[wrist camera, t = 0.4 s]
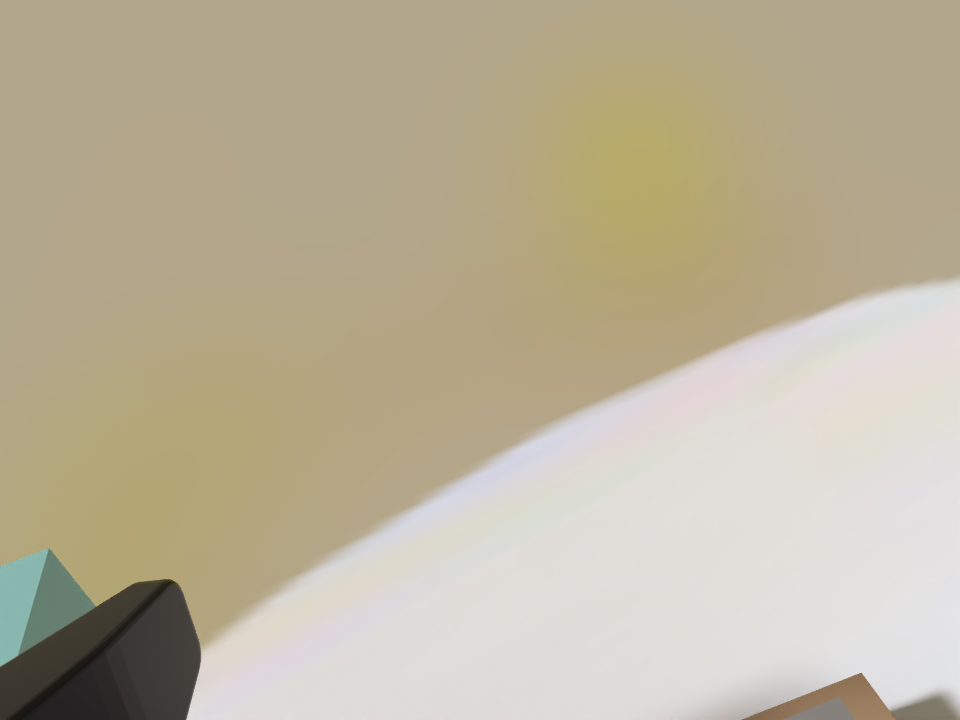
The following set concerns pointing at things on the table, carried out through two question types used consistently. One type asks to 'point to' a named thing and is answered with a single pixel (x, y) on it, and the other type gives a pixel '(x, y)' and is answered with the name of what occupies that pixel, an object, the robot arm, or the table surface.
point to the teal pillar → (36, 602)
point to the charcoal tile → (825, 712)
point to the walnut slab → (852, 691)
